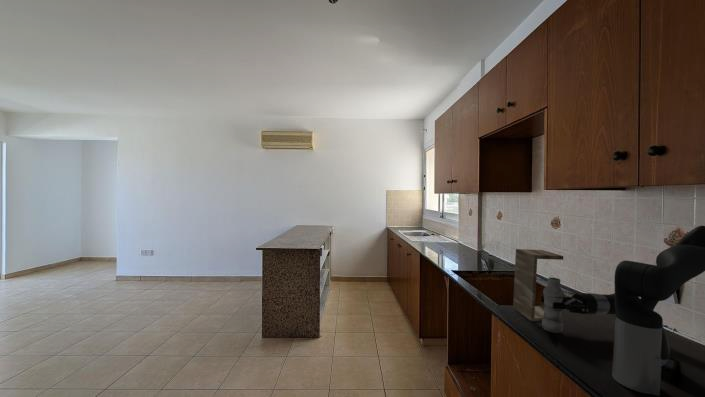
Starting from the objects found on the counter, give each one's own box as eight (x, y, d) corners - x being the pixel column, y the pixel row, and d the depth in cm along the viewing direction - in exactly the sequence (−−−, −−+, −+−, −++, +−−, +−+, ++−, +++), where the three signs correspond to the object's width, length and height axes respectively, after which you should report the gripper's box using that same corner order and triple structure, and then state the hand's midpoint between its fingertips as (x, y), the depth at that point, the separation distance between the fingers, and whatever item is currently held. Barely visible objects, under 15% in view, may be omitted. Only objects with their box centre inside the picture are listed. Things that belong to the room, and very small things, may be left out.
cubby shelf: (538, 309, 134) (541, 249, 133) (559, 321, 121) (563, 256, 120) (512, 308, 133) (515, 249, 133) (531, 320, 120) (534, 255, 120)
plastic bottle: (566, 336, 107) (569, 282, 107) (545, 334, 109) (548, 280, 109) (557, 328, 114) (560, 277, 113) (538, 326, 115) (540, 275, 115)
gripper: (575, 287, 119) (535, 286, 118) (607, 300, 104) (561, 299, 104) (574, 306, 119) (534, 304, 118) (606, 321, 104) (560, 320, 104)
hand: (547, 302), depth 111 cm, fingers closed on plastic bottle, 6 cm apart
